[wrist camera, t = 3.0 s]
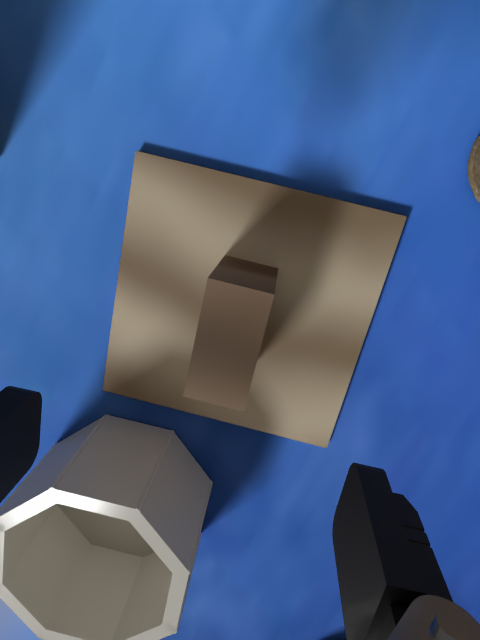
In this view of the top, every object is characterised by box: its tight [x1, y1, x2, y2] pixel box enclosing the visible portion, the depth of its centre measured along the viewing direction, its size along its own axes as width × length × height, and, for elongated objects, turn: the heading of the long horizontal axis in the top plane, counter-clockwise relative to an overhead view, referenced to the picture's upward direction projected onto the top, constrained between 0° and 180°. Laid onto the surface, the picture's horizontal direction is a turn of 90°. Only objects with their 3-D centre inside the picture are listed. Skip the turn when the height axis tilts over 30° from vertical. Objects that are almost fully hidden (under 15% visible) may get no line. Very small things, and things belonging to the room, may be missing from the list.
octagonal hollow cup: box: [0, 414, 213, 640], centre depth 23 cm, size 9×9×6 cm
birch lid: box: [103, 151, 407, 448], centre depth 20 cm, size 12×12×6 cm
